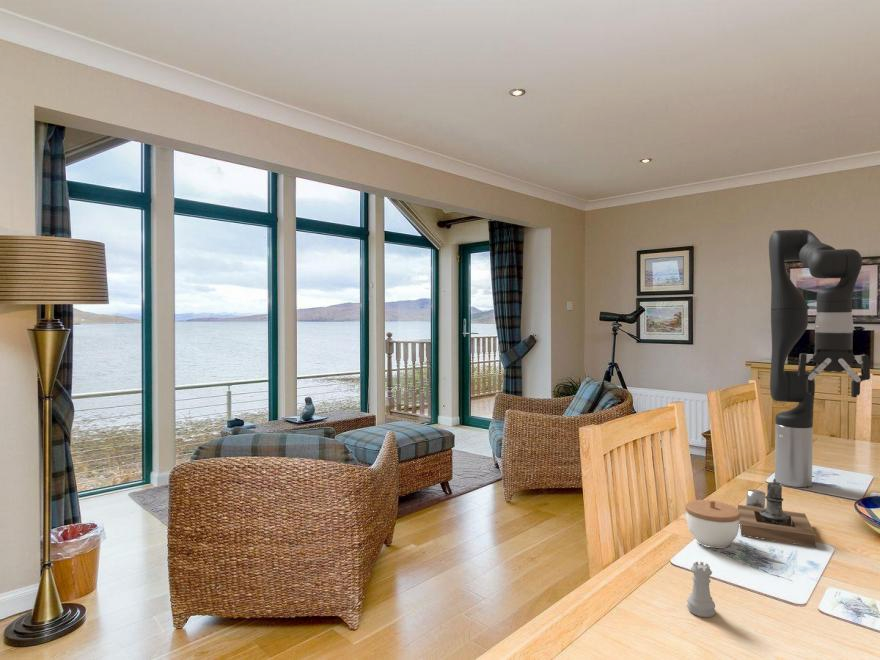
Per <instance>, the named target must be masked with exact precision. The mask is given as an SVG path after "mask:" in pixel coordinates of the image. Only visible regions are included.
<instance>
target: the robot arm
mask: <svg viewBox="0 0 880 660" xmlns="http://www.w3.org/2000/svg"><path fill="white" fill-rule="evenodd" d="M768 255H769V257H768V258H769V269H770V270H769V271H770V281H771V285H770V286H771V288H770V289H771V290H770V292H771V293H770V294H771V296H770V329H771V331H770V332H771V360H770V375H769V376H770V377H769V379H770V380H769V391H770V396H771V398H772V401H773V400H774V401H775V402H785V403H786V402H788V403H789V402H790V403H798V404H797V405H796V407H793V408H792V409H789V410H785V411H781V412H778V413H777V414H775V421H774V422H775V423H774V424H775V426H774V427H775V429H774V430H775V433H774V434H775V442H774V445H775V446H774V450H775V451H774V479H776V482H777V483H779V484H780V485H781V484H782V485H784V486H788V487H795V488H808V487H807V486H810V487H811V485H812V486H813V447H814V446H813V443H814V441H813V440H814V437H813V436H814V435H813V434H814V432H813V428H814V423H813V422H814V401H815V393H816V382H815V381H816V380H815V378H816V377H817V376H818V375H819V374H821V373H822V371H824V372H828V373H830V372H831V373H832V372H836V373H842V372H845V374H847V375H848V376H849V378H850V379H851V380H852V381H851V382H850V384H851V385H850V397H852V398H857V396H860V394H861V383H862V382H863V381H867V380H868V381H869V380H870V379H871V370H870V369H871V366H870V357H869V355H868V354H864V353H863V354H859V355H858V354H857V355H855V354H854V353H853V346H854V345H853V338H854V337H853V336H854V320H853V313H852V312H853V311H852V310H853V295H854V292H855V286H856V283H857V280H858V278H859V276H860V273H861V271H862V267H863V257H862V255H861V253H860V252H859V251H858V250H856V249H853V248H842V249H841V248H840V249H839V248H838V249H836V248H835V247H833V246H831V245H829V244H826V243H824V242H822V241H821V240H820V238H818V237H817V236H816V235H815V234H814V233H813V232H812V231H810V230H807V229H785V230H784V229H783V230H781V229H780V230H774V231H773V232H772V233H771V234H770V237H769V240H768ZM791 261H792V262H799V261H800V263H802V265H803V266H805V267H807V268H808V269H809V274H810V276H812V277H813V278H815V279H839V281H838V283H837V284H836V286H835V285H834V286H832V287H831V286H830V287H827V288H823V289H819V290H818V291H817V294H816V314H815V322H814V352H813V354H812V353H811V354H808V353H802V352H801V353H799V356H798V367H797V370H785V364H786V361H787V358H788V356H789V354H790V353H791V351H792V349H793V348H794V346H796V344H797V343H798V342H799V340H800V339H801V338H802V336H803V335H804V333H805V332H806V330H807V328H808V323H809V315H808V314H809V313H808V312H809V311H808V303H807V301H806V298H805V297H804V296H803V294H802V293H801V292H800V290H799V289H798V287H797V286H796V285H795V284H794V283H793V281H792V279H791V278H790V277H789V274H788V272H787V269H786V262H791ZM811 359H812V360H813V361H814V362H815V364H816V365H815V366H813V368H812V369H811V370H810V371H806V367H807V363H809V362H810V361H811ZM855 360H856V362H857V364H859V365H860V372H861V374H860V375H858V374H857V373H856V372H855V371H854V369H853V368H852V367H851V364H852V363H854V361H855Z"/></svg>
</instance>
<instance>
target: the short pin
mask: <svg viewBox="0 0 880 660" xmlns="http://www.w3.org/2000/svg"><path fill="white" fill-rule="evenodd" d="M746 492H747V493H746V505H745V506H752V507H759V508H766V498H765V497H766V496H767V493H766V492H764V491H762V490H758V489H752V488H750V489H747V490H746Z"/></svg>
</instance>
